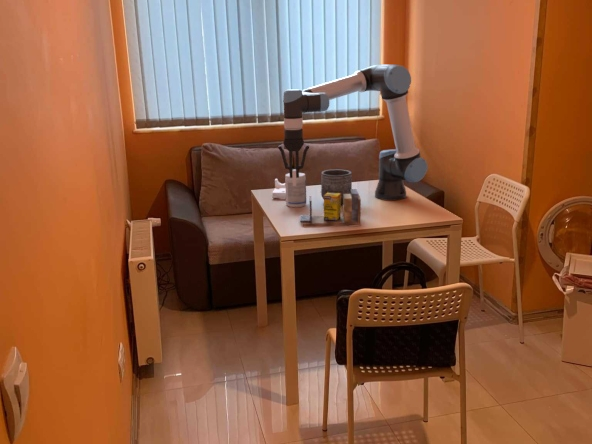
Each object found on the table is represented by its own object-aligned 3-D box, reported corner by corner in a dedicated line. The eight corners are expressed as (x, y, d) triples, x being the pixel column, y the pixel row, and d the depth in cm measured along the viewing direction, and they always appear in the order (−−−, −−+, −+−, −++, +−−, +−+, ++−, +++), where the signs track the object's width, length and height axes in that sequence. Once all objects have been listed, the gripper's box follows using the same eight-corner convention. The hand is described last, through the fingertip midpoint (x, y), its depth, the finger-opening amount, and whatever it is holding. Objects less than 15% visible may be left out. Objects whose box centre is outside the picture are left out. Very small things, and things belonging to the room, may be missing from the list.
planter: (324, 199, 287) (323, 168, 283) (353, 200, 284) (353, 169, 280) (319, 206, 274) (318, 175, 269) (349, 207, 271) (349, 176, 266)
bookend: (311, 216, 254) (311, 195, 251) (311, 221, 246) (311, 200, 243) (300, 216, 254) (300, 196, 251) (300, 221, 246) (299, 201, 244)
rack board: (358, 217, 255) (358, 188, 251) (360, 225, 245) (360, 194, 241) (302, 218, 256) (302, 189, 252) (302, 226, 245) (301, 195, 241)
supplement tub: (310, 205, 276) (309, 174, 272) (293, 209, 271) (292, 177, 267) (298, 201, 284) (298, 171, 279) (282, 204, 279) (281, 174, 274)
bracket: (276, 193, 301) (275, 178, 299) (289, 193, 300) (289, 178, 298) (272, 199, 289) (272, 184, 286) (286, 199, 288) (286, 184, 286)
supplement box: (323, 220, 248) (323, 195, 245) (327, 216, 253) (327, 192, 250) (337, 221, 246) (337, 196, 243) (340, 217, 252) (340, 192, 248)
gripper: (309, 126, 242) (310, 183, 249) (277, 127, 242) (279, 183, 249) (309, 129, 235) (310, 187, 242) (276, 130, 235) (278, 187, 242)
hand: (294, 185), depth 246 cm, fingers closed
